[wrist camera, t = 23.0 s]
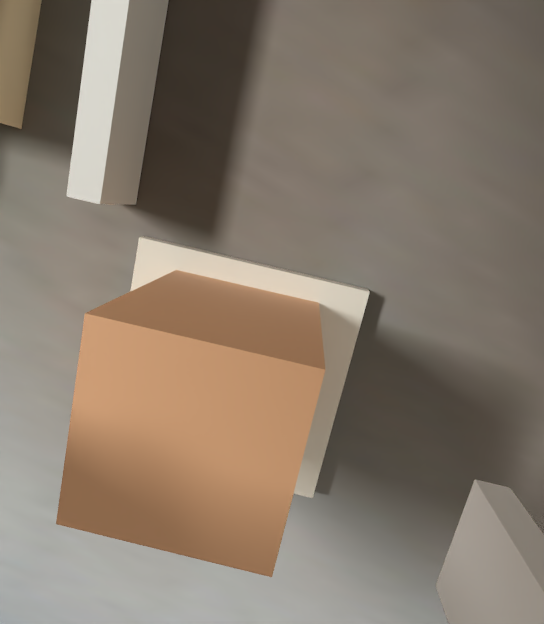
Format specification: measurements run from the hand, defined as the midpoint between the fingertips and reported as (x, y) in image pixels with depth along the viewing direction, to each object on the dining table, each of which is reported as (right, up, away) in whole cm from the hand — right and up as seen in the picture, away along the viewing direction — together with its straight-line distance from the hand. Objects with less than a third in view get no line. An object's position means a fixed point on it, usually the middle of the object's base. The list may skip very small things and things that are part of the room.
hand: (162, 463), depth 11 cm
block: (+1, +2, +7) cm, 7 cm away
